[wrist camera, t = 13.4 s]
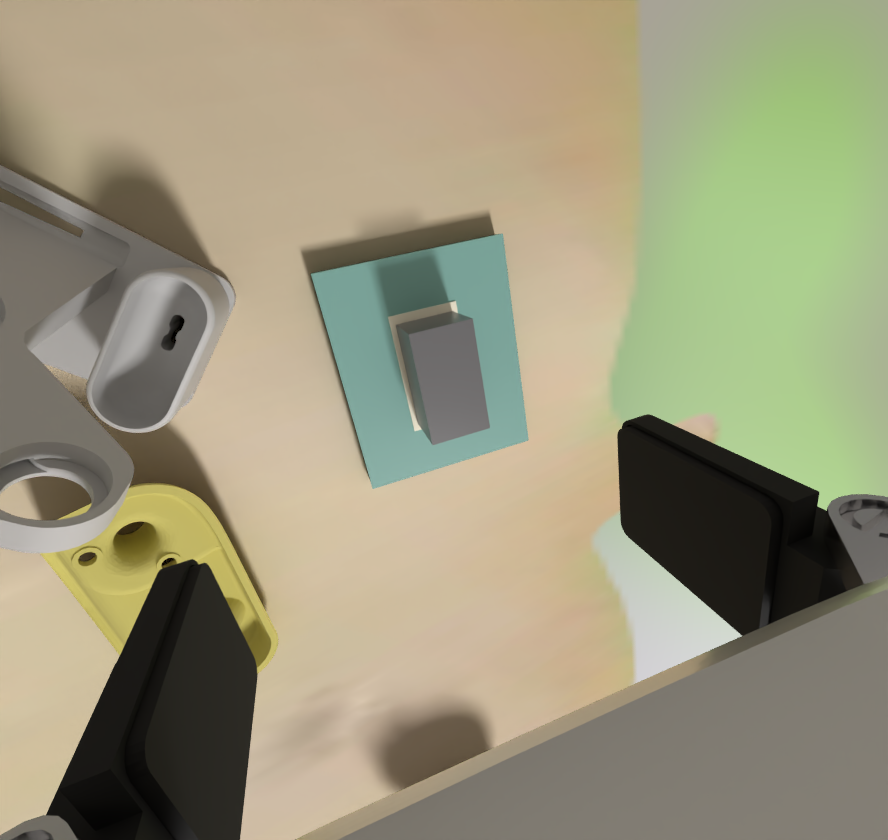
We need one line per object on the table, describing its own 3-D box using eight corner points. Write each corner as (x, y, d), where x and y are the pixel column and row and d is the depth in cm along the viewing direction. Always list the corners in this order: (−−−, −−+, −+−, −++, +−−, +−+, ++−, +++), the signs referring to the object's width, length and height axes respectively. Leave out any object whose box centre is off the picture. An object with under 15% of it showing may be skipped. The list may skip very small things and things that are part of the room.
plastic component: (286, 651, 39) (162, 747, 33) (253, 606, 44) (141, 683, 38) (188, 458, 30) (-3, 546, 24) (161, 430, 35) (-2, 497, 29)
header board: (370, 480, 38) (377, 504, 35) (310, 273, 32) (311, 275, 28) (521, 434, 41) (542, 451, 37) (494, 234, 34) (517, 232, 31)
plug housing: (418, 423, 36) (432, 445, 32) (395, 324, 33) (408, 334, 29) (469, 409, 37) (490, 428, 33) (452, 310, 34) (472, 318, 30)
